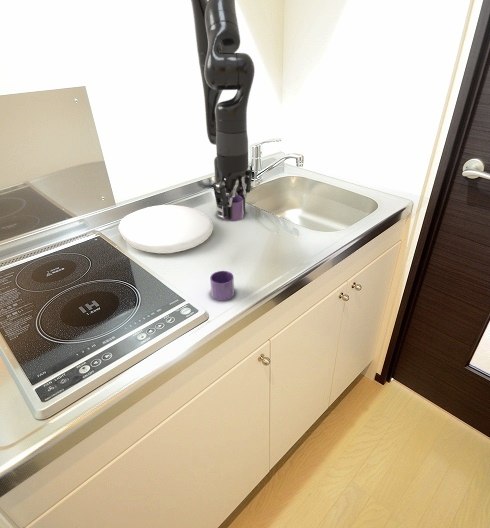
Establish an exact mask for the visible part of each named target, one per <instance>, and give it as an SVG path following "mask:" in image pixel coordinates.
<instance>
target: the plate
mask: <svg viewBox="0 0 490 528" xmlns="http://www.w3.org/2000/svg"><path fill="white" fill-rule="evenodd" d="M213 229H214V222H213V221H212V220H211V218H210V217H209V216H208V215H207V214H206V213H204V212H202V211H201V210H198V209H196V208H193V207H190V206H185V205H184V206H183V205H178V204H177V205H175V204H160V205H159V204H158V205H153V206H152V205H151V206H147V207H144V208H141V209H139V210H138V209H137V210H136V211H134V212H131V213H129V214H127V215H125V216H124V217H123V218H122V219H121V220H120V222H119V224H118V231H119V233H120V235H121V237H122V239H123V240H124V241H125V242H126V243H127V244H128V245H129V246H131V247H132V248H134V249H137V250H139V251H142V252H146V253H151V254H152V253H153V254H173V253H178V252H182V251H186V250H189V249H190V250H191V249H193V248H195V247H197V246H200V245H201V244H203V243H205V241H206V240H207V239H209V238H210V236H212V233H213Z"/></svg>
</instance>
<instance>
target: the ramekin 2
mask: <svg viewBox="0 0 490 528" xmlns="http://www.w3.org/2000/svg"><path fill="white" fill-rule="evenodd" d="M226 198H227V201H228V199H229V197H226ZM231 206H232V219H231V220H228V219H225V218H224V216H223V206H222V216H223V218H224V219H223V220H224V221H228V222H238V221H241V220H242V219H244V215H245V213H243V197H241V196H239V195H235V197H234V198H233V200H232V205H231Z"/></svg>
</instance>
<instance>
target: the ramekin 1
mask: <svg viewBox="0 0 490 528" xmlns="http://www.w3.org/2000/svg"><path fill="white" fill-rule="evenodd" d="M209 279H210V280H209V281H210V292H211V297H212V299H214V300H216V301H218V302H219V301H220V302H221V301H222V302H223V301H225V302H226V301H228V300H231V299H232V298H233V297H234V295H235V281H234V280H235V277H234V274H233V273H232V272H230V271H228V270H218V271H215V272H213V273H211V275H210V277H209Z"/></svg>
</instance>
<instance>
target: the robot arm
mask: <svg viewBox="0 0 490 528" xmlns="http://www.w3.org/2000/svg"><path fill="white" fill-rule="evenodd" d="M190 1H191V2H190V3H191V8H192V16H193V23H194V33H195V43H196V51H197V57H198V65H199V71H200V76H201V77H200V78H201V83H202V89H203V99H204V112H205V126H206V134H207V135H206V136H207V139H208V141H209V143H210V144H211V145H214V146H215V148H216V150H215V151H216V156H215V157H214V159H213V166H214V167H213V168H214V169H213V170H214V183H213V185H212V187H213V192H214V198H215V203H216V215H217V218H219V219H222V220H225V219H228V220H231V219H232V206H231V205H232V200H233V198H234V197H235V195H239V196H241V197H243V213H244V214H245V213H246V197H247V195H248V194H249V193H250V192H251V189H252V187H251V186H252V185H251V184H252V172H253V170H251V169H249V137H248V114H247V113H248V104H249V99H250V94H251V91H252V87H253V83H254V79H255V73H256V71H255V69H256V68H255V62H254V60H253V59H252V57H251V56H250V55H249V54H247V53H246V52H237V51H238V50H239V49H240V46H241V35H240V28H239V23H238V17H237V10H236V0H190ZM223 91H236V93H235V95H234V96H233V97H232V98H230V99H228V100H223V101H220V98H221V96H222V94H223ZM219 101H220V102H219ZM226 197H229V199H228V201H227V198H226ZM222 206H223V216H224V218H225V219H224V218H223V216H222ZM228 220H227V221H228Z"/></svg>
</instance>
